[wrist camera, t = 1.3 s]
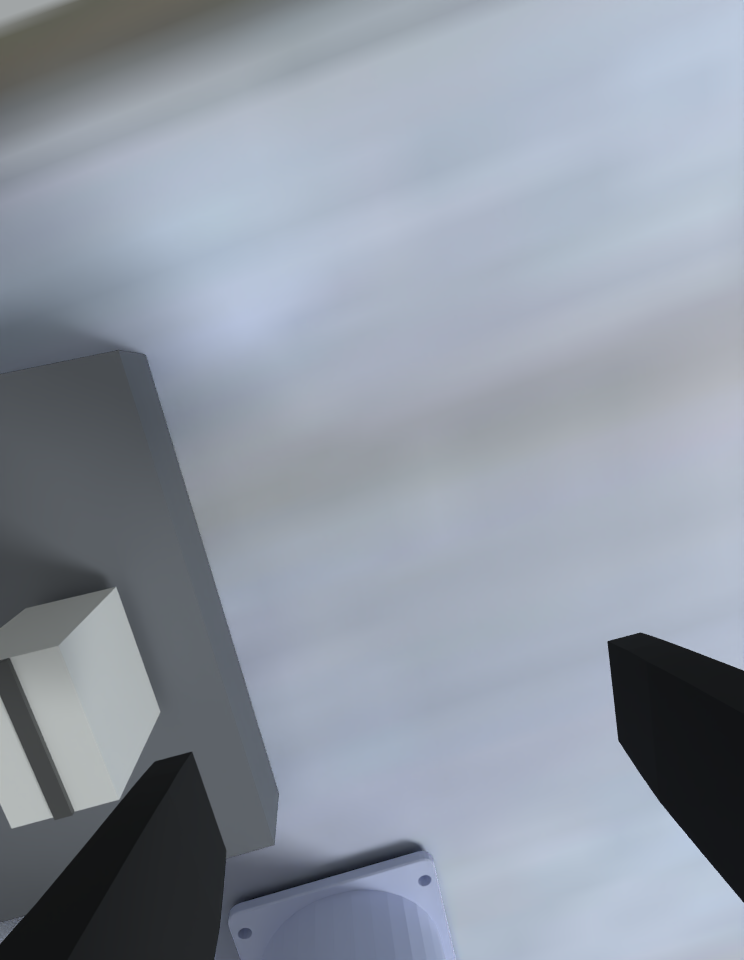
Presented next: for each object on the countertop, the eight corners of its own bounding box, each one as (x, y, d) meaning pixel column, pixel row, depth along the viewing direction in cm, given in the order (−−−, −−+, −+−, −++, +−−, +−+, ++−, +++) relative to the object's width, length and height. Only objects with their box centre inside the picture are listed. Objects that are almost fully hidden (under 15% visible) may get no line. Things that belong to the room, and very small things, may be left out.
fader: (160, 712, 14) (117, 803, 11) (76, 733, 14) (8, 832, 11) (116, 586, 13) (55, 648, 10) (25, 608, 13) (-64, 677, 10)
